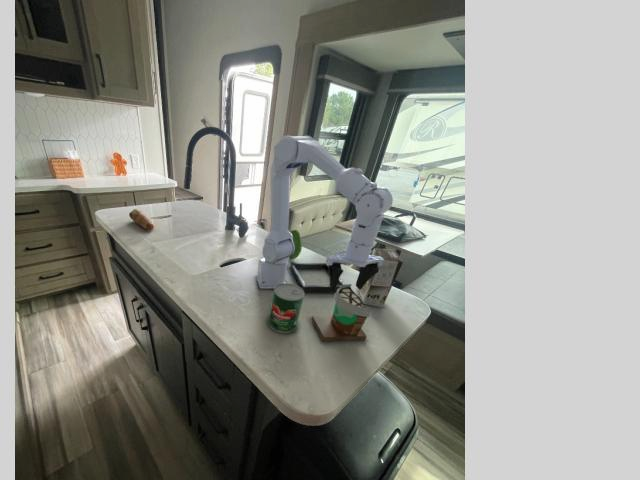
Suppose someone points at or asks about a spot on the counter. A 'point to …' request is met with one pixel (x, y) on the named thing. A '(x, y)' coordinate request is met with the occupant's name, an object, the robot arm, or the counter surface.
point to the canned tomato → (286, 307)
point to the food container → (348, 312)
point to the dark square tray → (313, 288)
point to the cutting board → (332, 330)
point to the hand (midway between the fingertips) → (345, 287)
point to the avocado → (296, 243)
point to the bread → (141, 219)
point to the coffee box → (381, 278)
